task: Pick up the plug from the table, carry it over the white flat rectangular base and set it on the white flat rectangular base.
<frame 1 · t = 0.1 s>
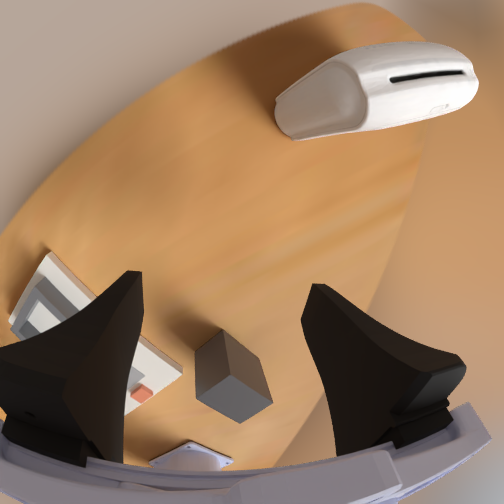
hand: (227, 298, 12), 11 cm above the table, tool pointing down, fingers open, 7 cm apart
plug: (227, 355, 25), on the table
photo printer: (331, 105, 20), on the table
white flat rectangular base: (88, 344, 22), on the table
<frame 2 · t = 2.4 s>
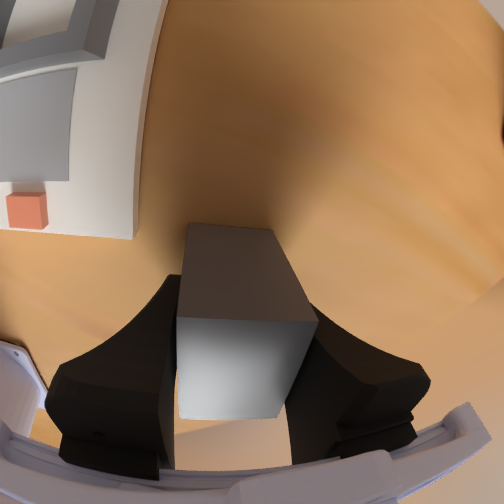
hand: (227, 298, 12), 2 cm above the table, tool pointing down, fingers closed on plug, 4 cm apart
plug: (224, 276, 13), on the table, touching gripper
white flat rectangular base: (50, 50, 7), on the table
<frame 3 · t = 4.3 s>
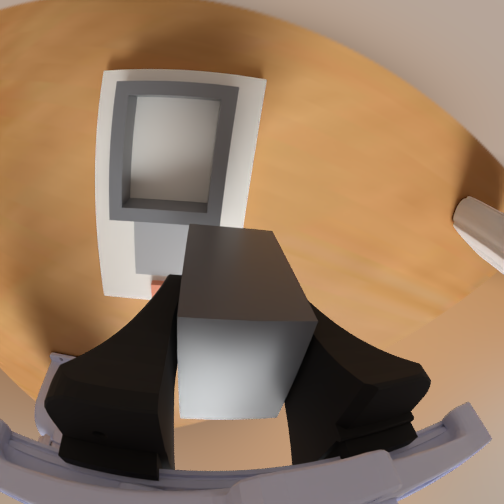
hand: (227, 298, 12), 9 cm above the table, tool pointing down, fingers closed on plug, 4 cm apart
plug: (224, 276, 13), point 7 cm above the table, touching gripper
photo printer: (473, 226, 24), on the table
white flat rectangular base: (170, 192, 18), on the table
when the fingers open (4 cm above the table, at t = 6.0 s): plug drops 1 cm, resting on white flat rectangular base.
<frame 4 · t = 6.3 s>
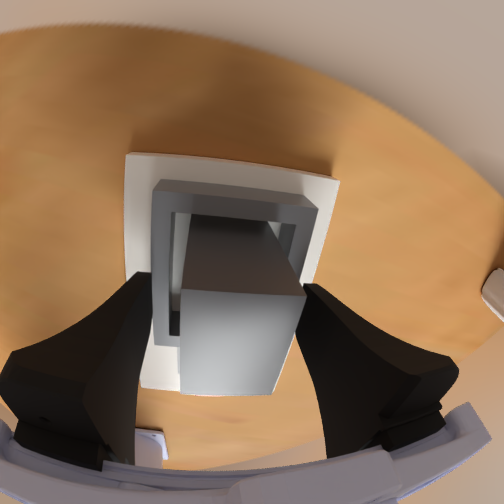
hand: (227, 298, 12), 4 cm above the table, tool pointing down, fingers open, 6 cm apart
plug: (223, 264, 14), point 1 cm above the table, touching white flat rectangular base
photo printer: (496, 290, 22), on the table
white flat rectangular base: (216, 300, 16), on the table
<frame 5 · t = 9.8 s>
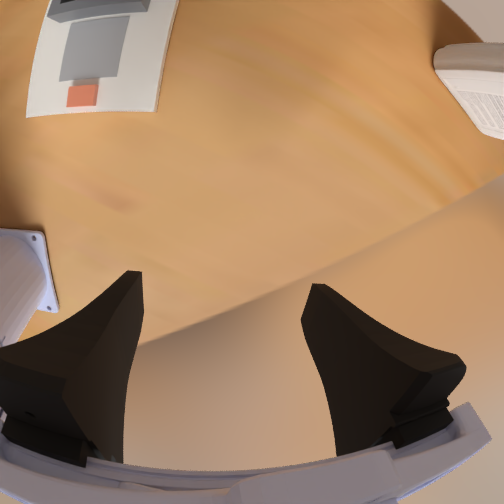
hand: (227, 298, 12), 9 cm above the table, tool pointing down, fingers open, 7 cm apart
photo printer: (463, 91, 17), on the table
white flat rectangular base: (108, 8, 11), on the table
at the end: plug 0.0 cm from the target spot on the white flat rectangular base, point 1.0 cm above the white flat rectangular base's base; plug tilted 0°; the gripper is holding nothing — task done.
